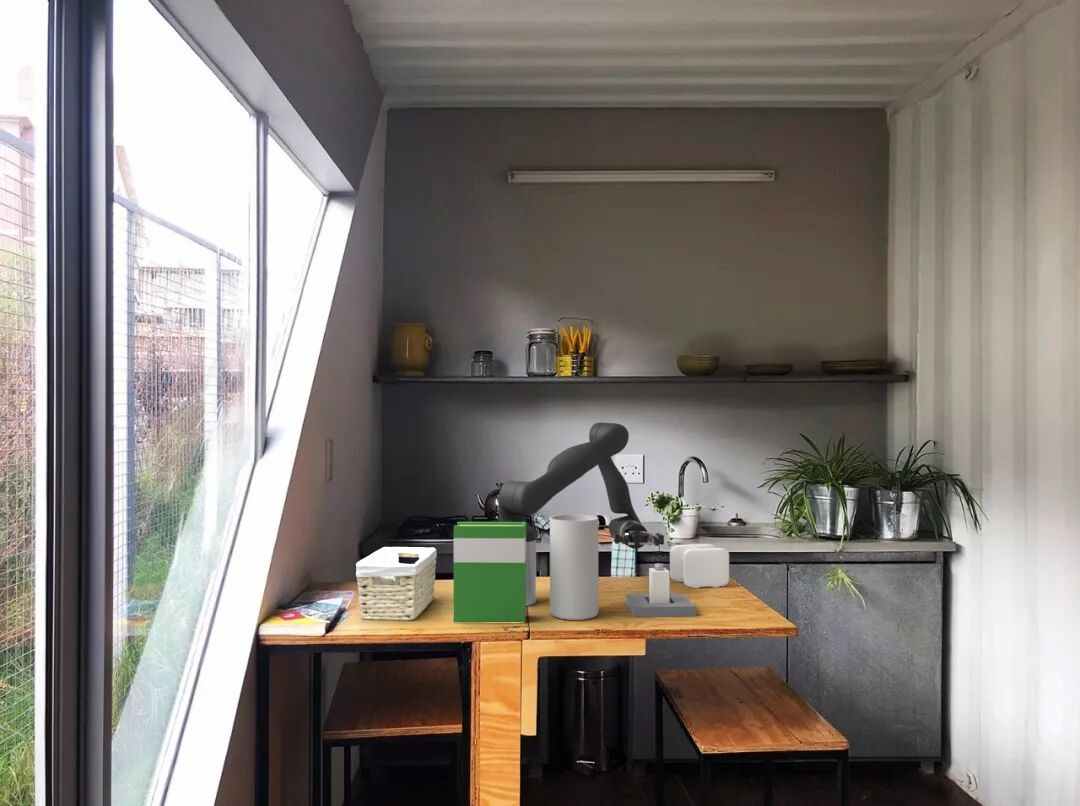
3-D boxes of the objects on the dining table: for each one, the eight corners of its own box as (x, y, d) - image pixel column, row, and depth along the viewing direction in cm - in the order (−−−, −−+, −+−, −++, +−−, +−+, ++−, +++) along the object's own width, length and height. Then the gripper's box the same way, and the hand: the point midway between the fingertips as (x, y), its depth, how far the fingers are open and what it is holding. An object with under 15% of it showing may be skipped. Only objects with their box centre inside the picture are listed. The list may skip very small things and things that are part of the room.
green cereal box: (453, 622, 189) (453, 526, 189) (457, 615, 196) (457, 521, 197) (524, 623, 189) (524, 526, 189) (525, 615, 196) (525, 522, 196)
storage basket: (416, 623, 189) (416, 563, 189) (352, 621, 191) (352, 562, 191) (438, 599, 213) (438, 547, 213) (382, 598, 215) (382, 546, 215)
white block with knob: (652, 611, 199) (652, 566, 200) (649, 607, 204) (649, 562, 204) (669, 611, 200) (669, 565, 200) (665, 607, 204) (665, 562, 204)
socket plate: (633, 616, 194) (633, 607, 195) (625, 603, 208) (625, 594, 208) (695, 616, 195) (695, 606, 195) (683, 602, 209) (683, 593, 209)
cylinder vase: (544, 619, 192) (544, 520, 193) (556, 607, 204) (556, 513, 205) (593, 622, 189) (592, 521, 189) (602, 610, 201) (602, 515, 202)
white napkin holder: (682, 589, 225) (682, 550, 225) (669, 582, 235) (669, 544, 235) (729, 587, 228) (729, 548, 228) (714, 579, 238) (714, 542, 238)
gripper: (610, 521, 230) (617, 528, 214) (656, 522, 231) (667, 529, 215) (609, 546, 230) (617, 555, 214) (656, 547, 230) (667, 555, 214)
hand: (642, 542), depth 214 cm, fingers open, 8 cm apart
